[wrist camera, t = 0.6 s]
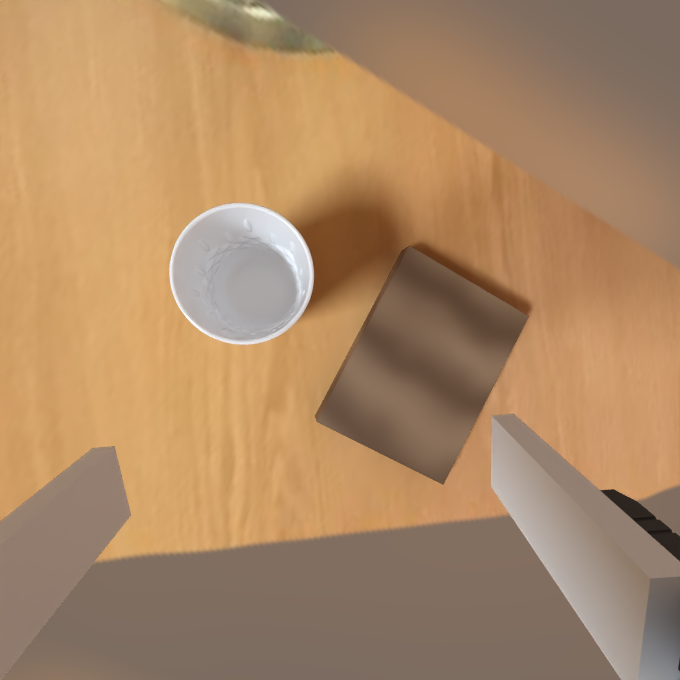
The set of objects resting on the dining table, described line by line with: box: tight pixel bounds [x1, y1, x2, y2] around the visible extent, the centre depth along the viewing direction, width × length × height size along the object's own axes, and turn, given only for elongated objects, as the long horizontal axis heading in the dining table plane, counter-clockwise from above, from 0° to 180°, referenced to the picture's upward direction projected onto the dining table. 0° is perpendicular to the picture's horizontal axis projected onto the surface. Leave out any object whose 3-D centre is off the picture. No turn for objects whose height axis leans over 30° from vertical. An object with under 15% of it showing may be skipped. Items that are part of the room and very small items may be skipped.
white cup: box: [170, 203, 314, 344], centre depth 26 cm, size 8×8×10 cm
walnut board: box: [315, 246, 529, 484], centre depth 32 cm, size 16×12×2 cm
